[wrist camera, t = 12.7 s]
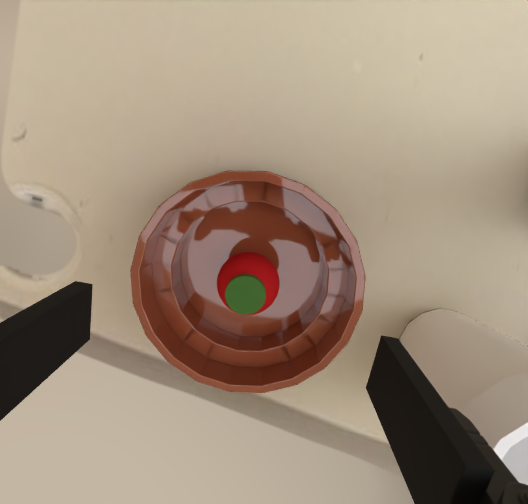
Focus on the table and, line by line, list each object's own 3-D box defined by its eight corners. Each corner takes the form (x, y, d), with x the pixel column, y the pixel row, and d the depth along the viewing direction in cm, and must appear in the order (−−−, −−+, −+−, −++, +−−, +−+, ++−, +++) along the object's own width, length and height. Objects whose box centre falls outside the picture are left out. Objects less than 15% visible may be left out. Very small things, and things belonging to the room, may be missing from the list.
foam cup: (357, 355, 27) (427, 508, 15) (430, 268, 26) (583, 360, 13) (443, 412, 28) (578, 601, 16) (520, 333, 27) (744, 477, 14)
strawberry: (212, 264, 26) (196, 286, 20) (258, 233, 25) (253, 248, 20) (244, 307, 26) (237, 339, 21) (290, 278, 26) (293, 304, 20)
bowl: (119, 245, 26) (83, 261, 21) (276, 129, 24) (277, 117, 19) (231, 384, 29) (222, 428, 24) (383, 293, 26) (408, 320, 21)
